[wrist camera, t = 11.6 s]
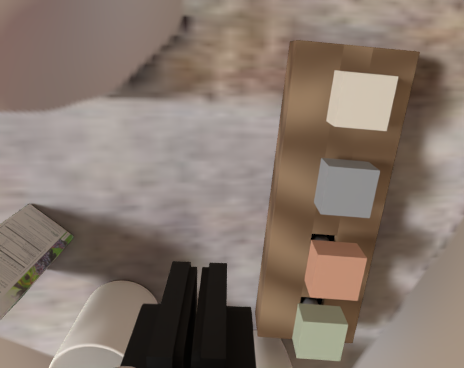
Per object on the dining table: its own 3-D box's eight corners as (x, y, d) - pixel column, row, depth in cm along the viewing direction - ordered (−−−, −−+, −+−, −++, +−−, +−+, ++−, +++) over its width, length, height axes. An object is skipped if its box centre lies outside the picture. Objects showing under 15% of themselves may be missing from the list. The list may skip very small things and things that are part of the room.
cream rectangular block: (322, 68, 34) (343, 71, 28) (367, 72, 34) (398, 76, 28) (315, 113, 35) (334, 126, 29) (358, 117, 35) (386, 131, 29)
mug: (203, 305, 43) (195, 378, 34) (175, 359, 46) (160, 441, 36) (102, 266, 42) (63, 331, 32) (78, 324, 44) (35, 400, 34)
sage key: (291, 279, 40) (303, 321, 34) (329, 282, 40) (348, 324, 34) (286, 312, 41) (296, 358, 35) (323, 314, 41) (340, 361, 35)
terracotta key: (302, 220, 37) (317, 254, 31) (343, 223, 37) (367, 258, 31) (296, 257, 38) (310, 297, 32) (336, 260, 38) (357, 300, 32)
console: (289, 41, 35) (297, 40, 31) (398, 52, 35) (419, 51, 31) (255, 312, 44) (257, 336, 40) (341, 318, 44) (352, 343, 40)
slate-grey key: (311, 146, 36) (328, 166, 29) (353, 150, 36) (380, 170, 30) (305, 187, 37) (320, 214, 31) (346, 190, 37) (369, 218, 31)
